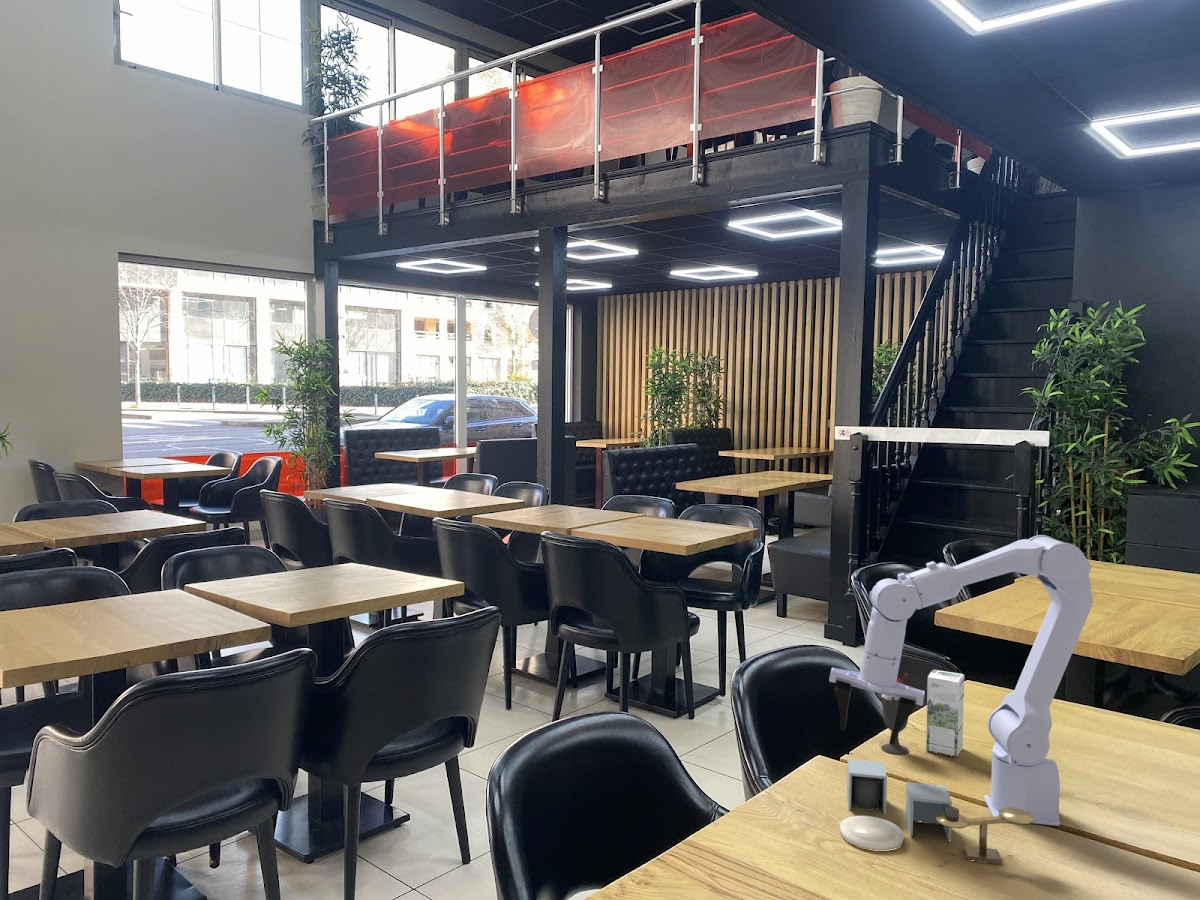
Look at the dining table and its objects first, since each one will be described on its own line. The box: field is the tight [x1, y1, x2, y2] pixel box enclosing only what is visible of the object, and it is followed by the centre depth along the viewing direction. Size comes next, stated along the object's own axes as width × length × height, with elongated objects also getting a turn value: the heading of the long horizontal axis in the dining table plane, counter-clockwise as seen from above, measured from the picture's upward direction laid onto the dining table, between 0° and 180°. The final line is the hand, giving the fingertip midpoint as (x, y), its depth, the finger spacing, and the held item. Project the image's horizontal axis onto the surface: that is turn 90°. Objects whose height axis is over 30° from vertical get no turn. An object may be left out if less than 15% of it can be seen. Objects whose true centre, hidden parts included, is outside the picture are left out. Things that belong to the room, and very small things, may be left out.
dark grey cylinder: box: [852, 776, 880, 811], centre depth 138 cm, size 4×4×4 cm
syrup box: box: [925, 669, 965, 757], centre depth 160 cm, size 6×6×14 cm
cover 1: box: [846, 758, 888, 815], centre depth 138 cm, size 6×6×6 cm
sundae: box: [877, 672, 910, 755], centre depth 161 cm, size 7×7×15 cm
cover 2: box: [905, 781, 953, 842], centre depth 129 cm, size 6×6×6 cm
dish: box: [839, 815, 904, 850], centre depth 127 cm, size 9×9×1 cm
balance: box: [936, 806, 1033, 866], centre depth 121 cm, size 13×4×7 cm, turn 77°
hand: (867, 735), depth 138 cm, fingers open, 7 cm apart
